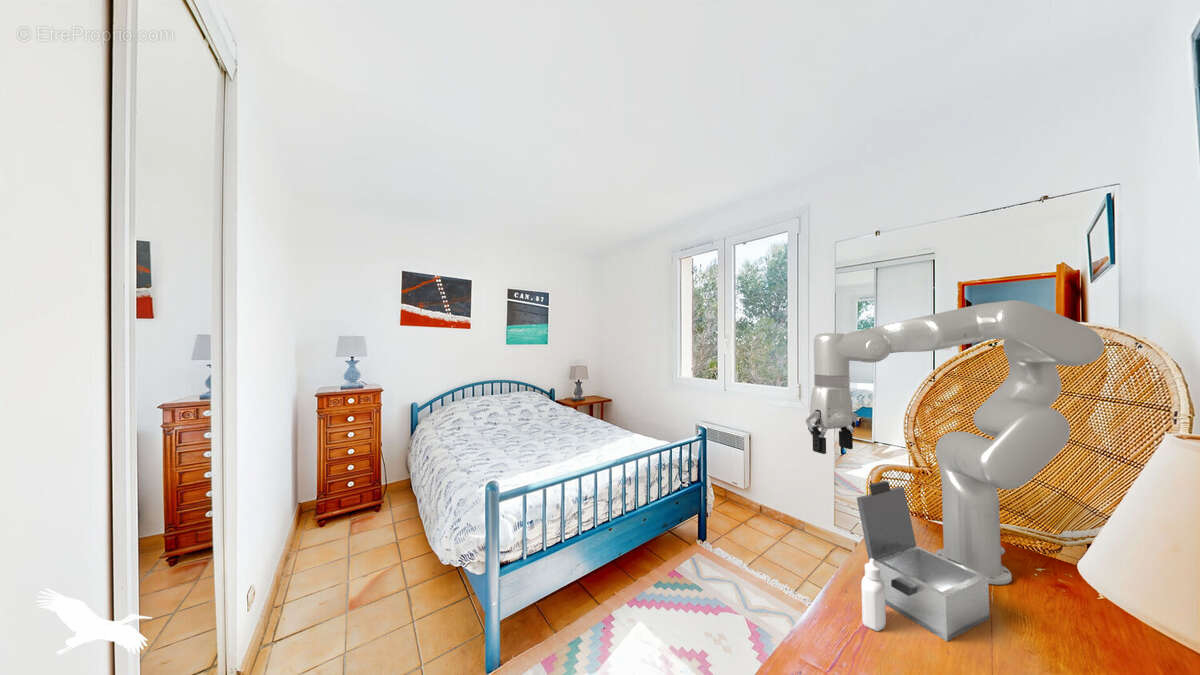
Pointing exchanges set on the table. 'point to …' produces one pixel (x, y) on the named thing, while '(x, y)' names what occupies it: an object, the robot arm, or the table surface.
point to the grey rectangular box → (934, 591)
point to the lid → (885, 520)
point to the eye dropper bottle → (873, 597)
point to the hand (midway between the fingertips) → (832, 450)
